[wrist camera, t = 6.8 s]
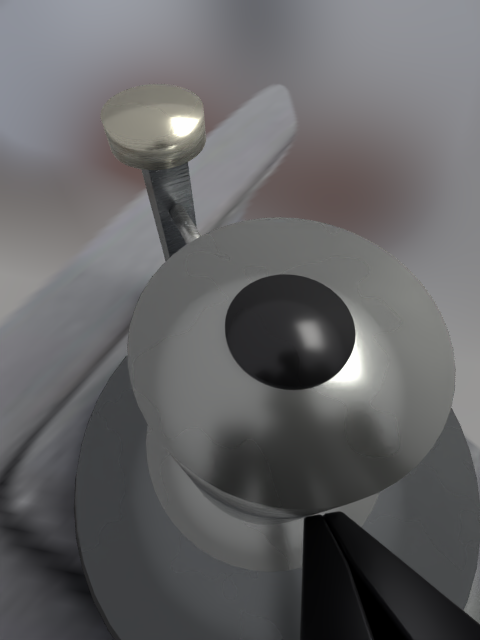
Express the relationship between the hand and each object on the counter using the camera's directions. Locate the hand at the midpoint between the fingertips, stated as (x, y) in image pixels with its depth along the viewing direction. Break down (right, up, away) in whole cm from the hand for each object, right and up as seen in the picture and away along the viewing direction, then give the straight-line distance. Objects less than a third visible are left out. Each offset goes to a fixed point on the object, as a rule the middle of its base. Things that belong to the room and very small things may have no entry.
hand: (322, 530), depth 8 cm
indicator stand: (-4, +5, +12) cm, 13 cm away
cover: (-1, 0, +6) cm, 6 cm away
